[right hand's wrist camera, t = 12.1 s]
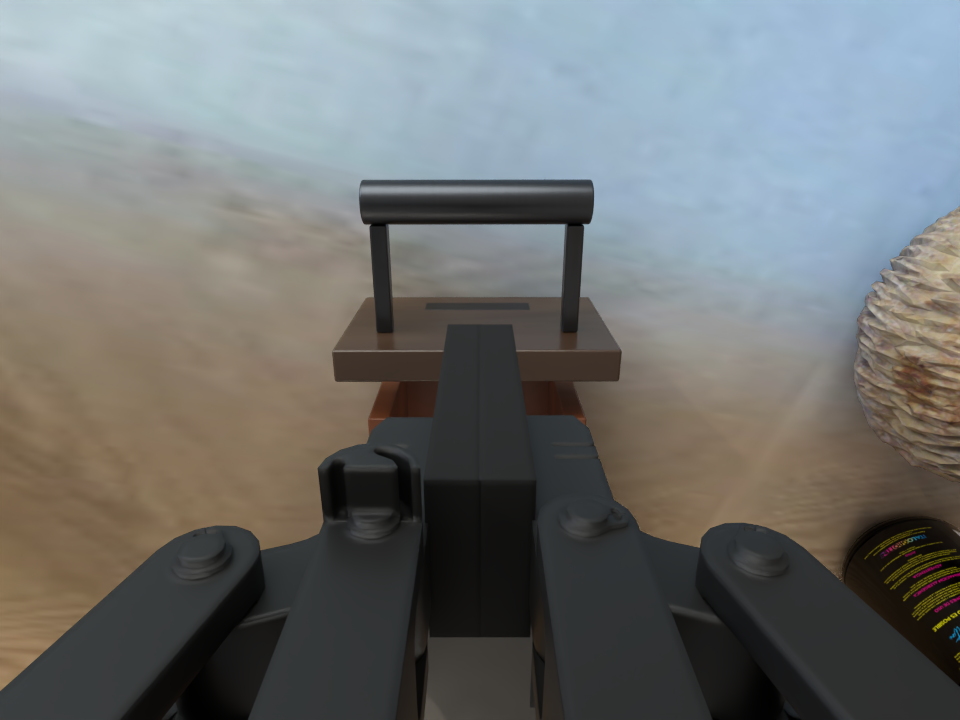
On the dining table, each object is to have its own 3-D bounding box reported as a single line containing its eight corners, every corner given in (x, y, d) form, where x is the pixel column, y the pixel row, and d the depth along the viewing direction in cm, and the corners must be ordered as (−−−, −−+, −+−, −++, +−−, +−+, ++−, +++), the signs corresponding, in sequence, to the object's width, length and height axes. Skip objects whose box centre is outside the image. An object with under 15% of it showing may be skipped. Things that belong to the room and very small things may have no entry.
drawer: (356, 169, 25) (315, 186, 19) (597, 169, 25) (637, 185, 19) (388, 620, 34) (368, 734, 28) (567, 620, 34) (587, 734, 28)
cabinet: (370, 471, 32) (332, 595, 24) (585, 471, 32) (623, 595, 24) (391, 741, 39) (367, 908, 31) (565, 741, 39) (589, 908, 31)
